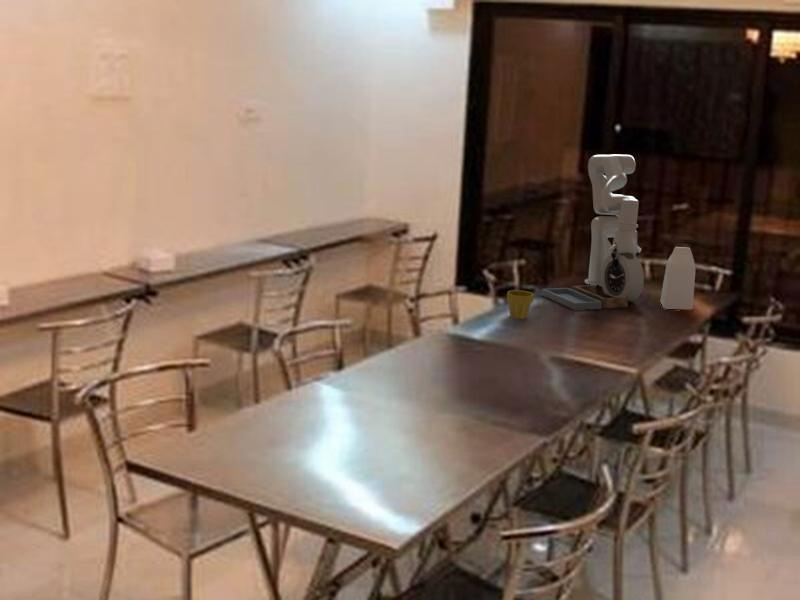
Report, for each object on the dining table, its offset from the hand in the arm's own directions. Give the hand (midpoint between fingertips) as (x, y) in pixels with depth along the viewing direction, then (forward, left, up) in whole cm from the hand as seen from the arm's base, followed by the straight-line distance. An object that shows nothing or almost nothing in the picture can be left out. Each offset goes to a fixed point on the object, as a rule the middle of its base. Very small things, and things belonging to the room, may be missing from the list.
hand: (623, 267), depth 462 cm
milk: (-17, +17, -15) cm, 28 cm away
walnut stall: (+11, 0, -14) cm, 18 cm away
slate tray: (+25, 0, -14) cm, 29 cm away
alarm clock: (0, 0, -13) cm, 13 cm away
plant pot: (+61, +19, -15) cm, 66 cm away
